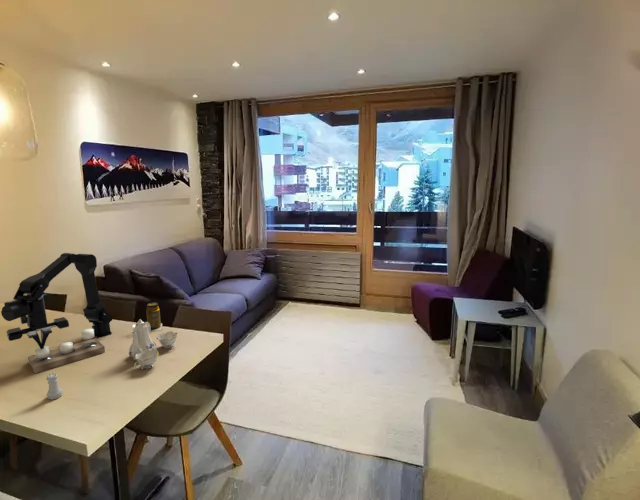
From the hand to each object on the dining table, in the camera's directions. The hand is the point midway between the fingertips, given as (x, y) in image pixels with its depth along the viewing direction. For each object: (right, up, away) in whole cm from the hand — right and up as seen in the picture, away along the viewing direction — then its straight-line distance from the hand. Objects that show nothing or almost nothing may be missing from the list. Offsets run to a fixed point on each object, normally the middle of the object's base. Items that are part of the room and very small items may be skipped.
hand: (42, 348), depth 143 cm
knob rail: (+6, -5, +7) cm, 10 cm away
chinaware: (+39, -6, +9) cm, 40 cm away
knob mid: (+6, -3, +7) cm, 9 cm away
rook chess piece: (+20, -11, -20) cm, 30 cm away
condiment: (+27, 0, +37) cm, 46 cm away
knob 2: (+11, +2, +11) cm, 16 cm away
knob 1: (0, -3, +1) cm, 3 cm away
